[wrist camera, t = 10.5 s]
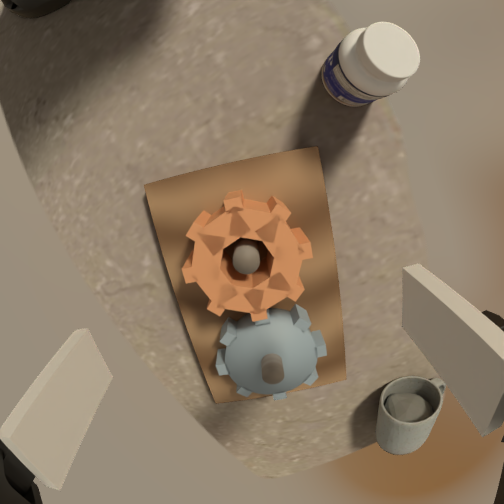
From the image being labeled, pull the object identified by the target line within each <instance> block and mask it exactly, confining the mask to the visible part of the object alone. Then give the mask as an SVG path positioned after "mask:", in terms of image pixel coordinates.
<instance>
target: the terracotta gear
mask: <svg viewBox="0 0 504 504" xmlns="http://www.w3.org/2000/svg"><path fill="white" fill-rule="evenodd" d="M223 201H224V205H225V206H223V207H222V208H221V209H219V210H218V211H216V212H215V213H213V214H212V215H211V214H209V213H207V212H206V211H204V210H203V211H202V213H201V214H200V215H199V216H198V217H197V219H196V220H195V221H194V222H193V224H192V226H191V227H190V229H189V231H188V232H187V234H186V236H187V237H189V238H190V239H192V240H193V241H195V245H194V250H192V252H191V253H190V255H189V257H188V259H187V260H186V262H185V264H184V266H183V267H182V272H183V276H184V279H185V282H186V284H187V283H192V282H197V284H198V285H199V286H200V287H201V289H202V290H203V291H204V292H205V294H206V295H207V296H208V297H209V302H208V306H207V309H208V310H209V311H211V312H213V313H215V314H217V315H218V316H221V314H222V313H223V311H224V310H225V309H228V310H235V311H241V312H247V313H250V314H251V318H252V322H254V321H259V320H264V319H268V318H267V309H268V308H270V307H271V306H273V305H275V304H276V303H278V302H280V301H281V300H283V299H284V298H286V297H288V298H290V299H292V300H293V301H295V302H296V300H297V299H298V298H299V296H300V295H301V294H302V293H303V291H304V290H305V289H304V287H303V284H302V282H301V279H300V277H299V272H300V268H301V264H302V260H305V259H310V258H313V254H312V248H311V242H310V241H309V239H308V238H307V237H306V235H305V234H304V232H303V231H302V230H301V228H300V227H298V228H294V229H290V227H289V226H288V224H287V223H286V220H287V219H288V217H289V216H290V214H291V212H290V211H289V209H288V208H287V207H286V205H285V204H284V203H283V202H281V201H280V200H278V199H277V198H275V197H274V196H271V197H270V199H269V200H268V202H267V203H264V202H258V201H253V200H247V199H244V197H243V193H242V190H238V191H234V192H229V193H227V195H226V197H225V199H224V200H223ZM240 237H242V238H248V239H254V240H260V241H263V243H264V244H265V246H266V247H267V249H268V250H267V255H266V257H265V258H264V259H262V260H261V261H260V265H259V267H258V269H257V270H256V271H255V272H253V273H251V274H242V273H239V272H238V271H237V270H236V269H235V268H234V266H233V260H232V259H231V258H230V256H229V255H228V254H227V252H226V251H225V248H226V247H227V246H228V245H230V244H231V243H233V242H234V241H236V240H237V239H239V238H240Z"/></svg>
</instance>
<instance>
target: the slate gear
mask: <svg viewBox="0 0 504 504" xmlns="http://www.w3.org/2000/svg"><path fill="white" fill-rule="evenodd" d="M267 318H268V319H264V320H259V321H254V322H252V318H251V314H250V313H248V314H246V315H244V316H243V317H241V318H240V319H239V320H238V321H235V320H233V319H231V318H230V317H228V318H227V320H226V321H225V323H224V324H223V325H222V328H221V335H220V342H221V343H222V344H224V345H226V348H223V349H218V352H217V359H216V368H217V371H218V373H219V376H220V375H227V374H229V376H230V377H231V379H232V380H233V381H234V382H235V383H236V384H237V390H236V393H238V394H241V395H243V396H245V397H248V396H249V395H250V394H251V393H252V392H254V393H258V394H273V398H274V400H279V399H284V398H287V397H286V392H287V391H290V390H292V389H294V388H296V387H298V386H300V385H301V384H302V383H305V384H307V385H309V386H311V385H312V384H313V383H314V382H315V381H316V380H317V379H318V374H317V371H316V364H317V358H318V357H323V356H327V351H326V344H325V341H324V339H323V336H322V334H321V331H320V330H317V331H312V332H311V331H310V328H309V327H310V325H311V322H310V319H309V316H308V313H307V311H306V310H305V309H304V308H302V307H300V306H298V305H297V304H295V305H294V306H293V308H292V309H291V310H290V311H288V310H285V309H280V308H268V309H267ZM271 353H273V354H277V355H279V356H280V357H281V358H282V363H283V369H284V379H283V380H282V381H281V382H280V383H277V384H268V383H266V382H264V381H263V379H262V368H261V360H262V358H263V357H264V356H265V355H267V354H271Z"/></svg>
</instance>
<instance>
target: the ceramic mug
mask: <svg viewBox="0 0 504 504" xmlns="http://www.w3.org/2000/svg"><path fill="white" fill-rule="evenodd" d="M445 387H446V384H445V382H444V381H442V380H440V379H439V378H433V379H432V380H428V379H427V378H423V377H419V376H406V377H401V378H398V379H396V380H393V381H392V382H390V383H389V384H388V385H387V386H386V387H385V388H384V390H383V391H382V393H381V396H380V401H379V409H378V417H377V423H376V431H375V432H376V439H377V442H378V444H379V446H380V447H381V448H382V449H383V450H384V451H386V452H388V453H390V454H393V455H404V454H409V453H411V452H414V451H415V450H417V449H418V448H419V447H420V446H421V445H422V444H423V443H424V442H425V440H426V439H427V437H428V436H429V434H430V431H431V429H432V427H433V425H434V423H435V420H436V418H437V416H438V414H439V412H440V409H441V406H442V402H443V401H442V395H443V393H444V390H445Z"/></svg>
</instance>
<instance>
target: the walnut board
mask: <svg viewBox="0 0 504 504" xmlns="http://www.w3.org/2000/svg"><path fill="white" fill-rule="evenodd" d="M144 188H145V192H146V196H147V200H148V204H149V207H150V211H151V215H152V219H153V222H154V226H155V230H156V233H157V237H158V240H159V244H160V247H161V250H162V254H163V257H164V260H165V264H166V267H167V270H168V273H169V277H170V280H171V283H172V286H173V289H174V292H175V295H176V298H177V301H178V304H179V307H180V310H181V313H182V316H183V319H184V322H185V325H186V327H187V330H188V333H189V336H190V339H191V341H192V344H193V347H194V350H195V352H196V355H197V358H198V360H199V363H200V365H201V368H202V371H203V373H204V376H205V378H206V381H207V383H208V386H209V388H210V391H211V393H212V395H213V398H214V400H215V403H216V404H217V403H225V402H233V401H241V400H248V399H254V398H260V397H267V396H272V395H273V394H258V393H254V392H252V393H251V394H250V395H249V396H248V397H245V396H243V395H241V394H238V393H236V390H237V384H236V383H235V382H234V381H233V380H232V379H231V377H230V376H229V374H227V375H220V376H219V373H218V371H217V368H216V359H217V352H218V349H223V348H226V345H224V344H222V343H221V342H220V335H221V328H222V325H223V324H224V323H225V321H226V320H227V318H228V317H230V318H231V319H233V320H235V321H238V320H239V319H240V318H241V317H243V316H244V315H246V314H248V313H247V312H241V311H235V310H228V309H225V310H224V311H223V313H222V314H221V316H218V315H217V314H215V313H213V312H211V311H209V310H208V309H207V306H208V302H209V297H208V296H207V295H206V294H205V292H204V291H203V290H202V289H201V287H200V286H199V285H198V284H197V282H192V283H187V284H186V282H185V279H184V276H183V272H182V267H183V266H184V264H185V262H186V260H187V259H188V257H189V255H190V253H191V252H192V250H194V245H195V241H193V240H192V239H190V238H189V237H187V236H186V234H187V232H188V231H189V229H190V227H191V226H192V224H193V222H194V221H195V220H196V219H197V217H198V216H199V215H200V214H201V213H202V211H203V210H204V211H206V212H207V213H209V214H211V215H212V214H213V213H215V212H216V211H218V210H219V209H221V208H222V207H223V206H225V205H224V201H223V200H224V199H225V197H226V195H227V193H229V192H234V191H238V190H242V193H243V197H244V199H247V200H253V201H258V202H264V203H267V202H268V200H269V199H270V197H271V196H274V197H275V198H277V199H278V200H280V201H281V202H283V203H284V204H285V205H286V207H287V208H288V209H289V211H290V212H291V214H290V216H289V217H288V219H287V220H286V223H287V224H288V226H289V227H290V229H294V228H298V227H300V228H301V230H302V231H303V232H304V234H305V235H306V237H307V238H308V239H309V241H310V242H311V248H312V254H313V258H310V259H305V260H302V264H301V268H300V272H299V277H300V279H301V282H302V284H303V287H304V289H305V290H304V291H303V293H302V294H301V295H300V296H299V298H298V299H297V300H296V302H295V301H293V300H292V299H290V298H288V297H286V298H284V299H283V300H281V301H280V302H278V303H276V304H275V305H273V306H271V307H270V308H280V309H285V310H288V311H290V310H291V309H292V308H293V306H294V305H295V304H297V305H298V306H300V307H302V308H304V309H305V310H306V311H307V313H308V316H309V319H310V322H311V325H310V327H309V328H310V331H311V332H312V331H317V330H320V331H321V334H322V336H323V339H324V341H325V344H326V351H327V356H323V357H318V358H317V364H316V371H317V374H318V379H317V380H316V381H315V382H314V383H313V384H312V385H311V386H309V385H307V384H305V383H302V384H301V385H300V386H298V387H296V388H294V389H292V390H290V391H287V392H286V393H289V392H294V391H299V390H303V389H308V388H313V387H317V386H322V385H326V384H330V383H334V382H338V381H342V380H346V363H345V347H344V333H343V321H342V310H341V299H340V290H339V280H338V272H337V263H336V255H335V248H334V240H333V233H332V226H331V220H330V213H329V207H328V201H327V195H326V189H325V183H324V177H323V172H322V166H321V161H320V156H319V151H318V146H314V147H308V148H302V149H296V150H291V151H285V152H280V153H275V154H269V155H264V156H259V157H254V158H250V159H245V160H240V161H236V162H231V163H227V164H222V165H218V166H214V167H210V168H205V169H201V170H197V171H193V172H189V173H186V174H182V175H178V176H174V177H170V178H167V179H163V180H159V181H156V182H152V183H149V184H145V185H144ZM267 250H268V249H267V247H266V246H265V244H264V243H263V241H260V240H254V239H248V238H242V237H240V238H239V239H237V240H236V241H234V242H233V243H231V244H230V245H228V246H227V247H226V248H225V251H226V252H227V254H228V255H229V256H230V258H231V259H232V260H233V266H234V268H235V269H236V270H237V271H238V272H239V273H242V274H251V273H253V272H255V271H256V270H257V269H258V267H259V265H260V261H261V260H262V259H264V258H265V257H266V255H267ZM261 368H262V379H263V381H264V382H266V383H268V384H277V383H280V382H281V381H282V380H283V379H284V369H283V363H282V358H281V357H280V356H279V355H277V354H273V353H271V354H267V355H265V356H264V357H263V358H262V360H261Z"/></svg>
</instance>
